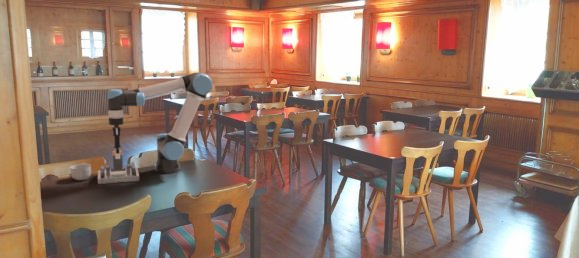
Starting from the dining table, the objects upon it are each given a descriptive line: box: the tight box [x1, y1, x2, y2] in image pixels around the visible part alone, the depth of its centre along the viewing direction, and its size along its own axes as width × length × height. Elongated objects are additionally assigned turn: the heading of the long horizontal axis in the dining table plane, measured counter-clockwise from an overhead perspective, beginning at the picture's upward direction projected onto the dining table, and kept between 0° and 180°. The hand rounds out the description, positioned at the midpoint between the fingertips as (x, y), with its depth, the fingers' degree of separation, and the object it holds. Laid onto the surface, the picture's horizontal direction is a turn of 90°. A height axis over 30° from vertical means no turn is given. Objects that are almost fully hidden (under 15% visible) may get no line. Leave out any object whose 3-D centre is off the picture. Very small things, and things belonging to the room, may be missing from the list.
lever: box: [110, 150, 126, 172], centre depth 271 cm, size 8×2×12 cm, turn 111°
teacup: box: [69, 162, 92, 181], centre depth 270 cm, size 14×11×8 cm
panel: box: [97, 163, 140, 185], centre depth 272 cm, size 22×18×7 cm
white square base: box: [100, 161, 136, 178], centre depth 272 cm, size 19×19×4 cm
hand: (117, 158), depth 264 cm, fingers closed
